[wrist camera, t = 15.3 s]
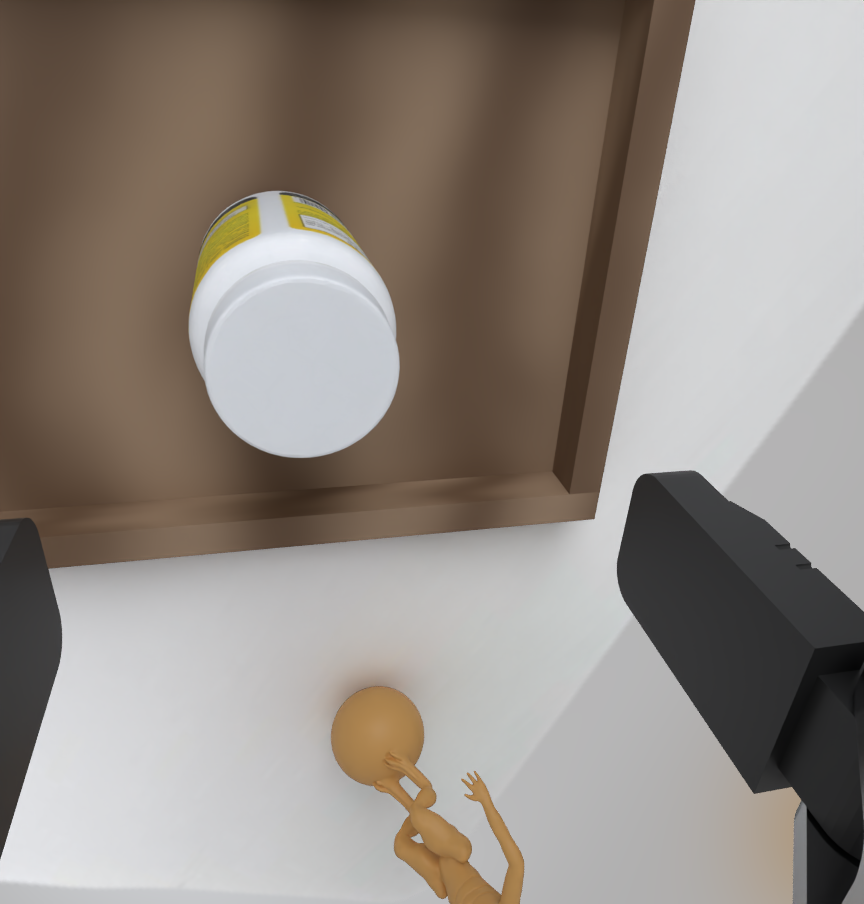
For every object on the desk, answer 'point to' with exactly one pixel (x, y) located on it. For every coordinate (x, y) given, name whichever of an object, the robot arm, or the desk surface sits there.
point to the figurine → (418, 796)
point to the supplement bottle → (292, 327)
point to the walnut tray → (367, 219)
